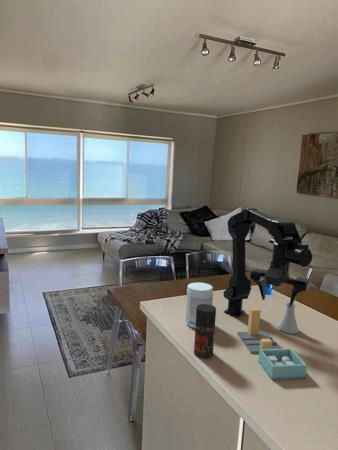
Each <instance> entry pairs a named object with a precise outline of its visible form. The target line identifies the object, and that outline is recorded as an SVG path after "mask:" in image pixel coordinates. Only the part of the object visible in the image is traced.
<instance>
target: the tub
mask: <svg viewBox="0 0 338 450" xmlns="http://www.w3.org/2000/svg"><path fill="white" fill-rule="evenodd" d="M257 362H258V364H259V365H260V366H261V368H262V369H263V370H264V372H265V373H266V375H267V376H268V377H269V379H270V381H278V380H280V381H282V380H298V379H299V380H301V379H302V380H303V379H306V375H307V368H308V367H307V365H308V364H306V363H305V361H304V360H302V359H301V358H300V357H299V355H298V354H296V353H295V351H294V350H293V349H292V348H281V349H259V353H258V361H257Z"/></svg>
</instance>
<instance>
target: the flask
mask: <svg viewBox="0 0 338 450" xmlns="http://www.w3.org/2000/svg"><path fill="white" fill-rule="evenodd" d="M296 305H297V304H295V303H293V305H292V307H290V302H287V303H286V309H285V313H284V316H283V317H282V319H281V320H280V323H279V325H278V329H279V331H280V332H283V333H286V334H290V335H292V334H293V335H296V334H298V333H299V332H300V331H299V327H298V323H297V319H296V315H295V307H296Z"/></svg>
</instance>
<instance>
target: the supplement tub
mask: <svg viewBox="0 0 338 450" xmlns="http://www.w3.org/2000/svg"><path fill="white" fill-rule="evenodd" d="M213 297H214V287H213V285H211V284H209V283H206V282H191V283H188V285H187V289H186V304H185V305H186V309H185V310H186V311H185V323H186V324H187V326H188V327H190V328H193V329H195V325H196V308H197V306H198V305H200V304H209V305H212V306H213V299H214V298H213Z"/></svg>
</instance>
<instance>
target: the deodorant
mask: <svg viewBox="0 0 338 450" xmlns="http://www.w3.org/2000/svg"><path fill="white" fill-rule="evenodd" d="M216 316H217V307H216V306H215V305H213V304H212V305H209V304H200V305H198V306H197V308H196V325H195V328H194V342H193V343H194V344H193V345H194V346H193V355H194V356H195V357H196V358H199V359H202V360H203V359H204V360H208V359H211V358H212V357H213V356H214V343H215V331H216V330H215V329H216V319H217V317H216Z"/></svg>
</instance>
